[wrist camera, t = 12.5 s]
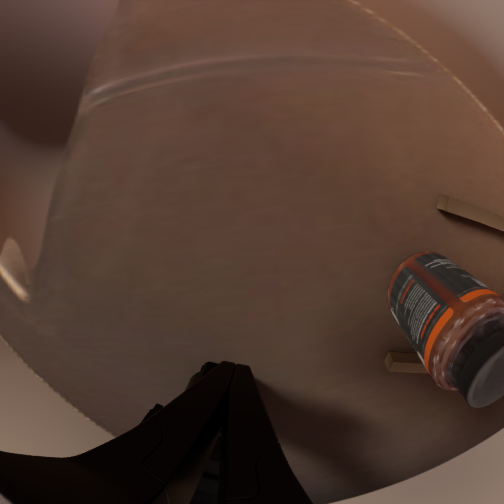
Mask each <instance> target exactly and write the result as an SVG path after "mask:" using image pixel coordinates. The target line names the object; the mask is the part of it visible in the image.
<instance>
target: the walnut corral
mask: <svg viewBox="0 0 504 504" xmlns="http://www.w3.org/2000/svg"><path fill="white" fill-rule="evenodd" d="M436 208H439V209H441V210H444V211H447V212H450V213H454V214H457V215H460V216H463V217H465V218H468V219H471V220H474V221H477V222H480V223H482V224H485V225H488V226H491V227H493V228H496V229H499V230H501V231H504V218H503V217H501V216H498V215H496V214H494V213H491V212H489V211H486V210H484V209H481V208H478V207H476V206H473V205H471V204H468V203H465V202H463V201H460V200H457V199H454V198H451V197H448V196H444V195H440V194H439V197H438V202H437V207H436ZM384 361H385V364H386V366H387V368H388V371H389V372H405V373H428V371H427V370H426V368H425V366H424V364H423V363H422V361H421V359H420V358H419V356H418V354H415V353H402V352H391V351H389V352H388V354H387V356H386V358H385V360H384Z"/></svg>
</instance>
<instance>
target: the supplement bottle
mask: <svg viewBox="0 0 504 504" xmlns="http://www.w3.org/2000/svg"><path fill="white" fill-rule="evenodd" d="M388 304H389V307H390V310H391V312H392V314H393V316H394V317H395V319H396V321H397V322H398V324H399V325H400V327H401V329H402V330H403V332H404V333H405V335H406V336H407V338H408V340H409V341H410V343H411V345H412V346H413V348H414V349H415V351H416V353H417V354H418V356H419V358H420V359H421V361H422V363H423V364H424V366H425V368H426V370H427V371H428V373H429V375H430V376H431V378H432V379H433V381H434V382H435V383H436V384H437V385H438V386H439V387H441V388H443V389H446V390H448V391H459V392H460V393H461V394H462V395H463V397H464V398H465V399H466V401H467V403H468V404H469V405H470V406H471V407H474V408H481V407H485V406H488V405H490V404H491V403H493V402H495V401H496V400H498V399H499V398H500V397H502V396H503V395H504V299H503V298H501V297H500V296H499V295H498V294H496V293H495V292H494V291H493V290H491V289H490V288H489V287H487V286H486V285H484V284H483V283H482V282H480V281H479V280H478V279H476V278H475V277H473V276H472V275H471V274H469V273H468V272H466V271H465V270H463V269H462V268H461V267H459V266H458V265H456V264H455V263H453V262H452V261H450V260H449V259H447V258H445V257H444V256H442V255H440V254H438V253H435V252H420V253H417V254H415V255H413V256H411V257H409V258H408V259H406V260H405V261H404V262H403V263H402V264H401V265H400V266H399V267H398V268H397V270H396V271H395V273H394V274H393V276H392V279H391V281H390V284H389V287H388Z"/></svg>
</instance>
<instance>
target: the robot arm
mask: <svg viewBox="0 0 504 504" xmlns="http://www.w3.org/2000/svg"><path fill="white" fill-rule="evenodd" d="M278 442H279V441H278V438H277V436H276V433H275V431H274V428H273V426H272V423H271V421H270V418H269V416H268V413H267V411H266V408H265V406H264V403H263V400H262V398H261V395H260V392H259V390H258V387H257V384H256V382H255V379H254V376H253V374H252V371H251V368H250V367H249V366H248V365H242V364H237V365H236V364H235V363H233V362H228V361H222V362H221V363H220V364H215V363H210V362H207V363H205V365H203V366H202V368H201V370H200V372H198V373H196V374H195V375H193V376H192V378H191V379H190V381H189V383H188V386H187V388H186V390H185V391H184V392H183V393H182V394H180V395H179V396H178V397H176V398H175V399H174V400H172V401H171V402H170V403H169V404H167V405H166V406H164V407H163V406H162V405H160V404H156V405H155V407H154V408H153V409H151V410H150V411H149V412H148V413H147V415H146V416H145V418H144V419H143V420H142V422H141V423H140V424H139V425H138V426H136V427H135V428H133V429H131V430H129V431H128V432H126V433H124V434H122V435H120V436H118V437H116V438H114V439H112V440H110V441H109V442H106V443H104V444H102V445H100V446H98V447H96V448H94V449H91V450H89V451H87V452H85V453H82V454H80V455H76V456H72V457H66V458H58V457H57V458H56V457H42V456H31V455H22V454H15V453H8V452H3V451H0V504H313V503H312V501H311V500H310V498H309V497H308V495H307V494H306V492H305V491H304V489H303V488H302V486H301V484H300V483H299V481H298V480H297V478H296V476H295V475H294V473H293V471H292V469H291V468H290V466H289V464H288V461H287V459H286V457H285V455H284V453H283V450H282V448H281V446H280V443H278Z"/></svg>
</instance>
